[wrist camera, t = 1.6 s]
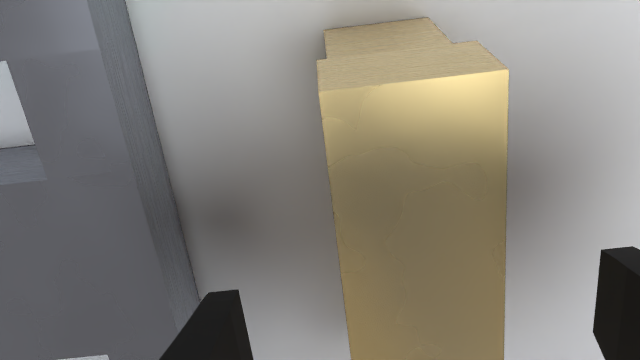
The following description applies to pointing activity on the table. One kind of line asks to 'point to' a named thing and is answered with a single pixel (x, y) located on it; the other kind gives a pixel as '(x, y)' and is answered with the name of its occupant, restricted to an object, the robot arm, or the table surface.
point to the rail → (86, 194)
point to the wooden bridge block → (417, 189)
